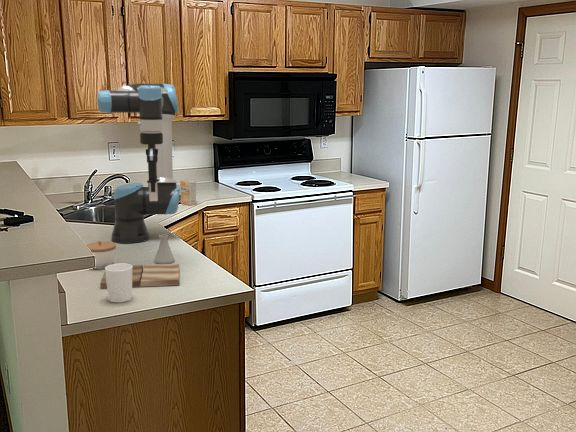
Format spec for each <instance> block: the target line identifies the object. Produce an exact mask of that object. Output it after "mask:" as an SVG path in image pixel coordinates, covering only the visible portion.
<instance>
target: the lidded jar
mask: <svg viewBox="0 0 576 432" xmlns="http://www.w3.org/2000/svg"><path fill="white" fill-rule="evenodd" d="M85 245H86V246H87V247H88V248H89V249H90V250H91V252H92V253H93V254H94V255H95V259H96V268H97V269H98V270H101V269H102V268H103V269H105V267H106V266H108V265H111V264H114V261H115V260H116V256H117V255H116V252H117V251H116V249H117V244H116V242H113V241H112V242H111V241H102V240H98V241H95V242H89V243H86V244H85ZM97 269H96V270H97Z"/></svg>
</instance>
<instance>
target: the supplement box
mask: <svg viewBox="0 0 576 432" xmlns="http://www.w3.org/2000/svg"><path fill="white" fill-rule="evenodd" d="M179 181H180V186H179V187H180V204H181V205H186V206H190V207H191V206H195V205H197V182H196V181H194V180H189V179H183V180H179Z"/></svg>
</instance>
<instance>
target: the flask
mask: <svg viewBox="0 0 576 432" xmlns="http://www.w3.org/2000/svg"><path fill="white" fill-rule="evenodd" d="M158 238H159V245H158V249H157V251H156V254H155V257H154V260H153V262H154V263H156V264H173V263H174V262H175V261H176V259H175V258H174V255H173V253H172V250H171V247H170V245H169V240H168V239H169V235H168V234H166V233H164V234H159V235H158Z"/></svg>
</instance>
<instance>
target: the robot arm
mask: <svg viewBox="0 0 576 432" xmlns="http://www.w3.org/2000/svg"><path fill="white" fill-rule="evenodd" d="M176 90H177V89H176V87H175V85H173V84H171V83H170V84H169V83H141V82H140V83H131V84H127V85H123V86H120V87H118V88H116V89H115V90H108V89H105V90H99V91H98V92H97V101H96V102H97V108H98V111H99V112H100V113H106V114H117V113H119V114H120V113H121V114H123V113H124V114H125V113H126V114H127V113H128V114H130V113H131V114H132V113H133V114H139V116H138V117H139V118H138V119H139V121H138V122H137V125H138V126H139V131H140V133H139V140H140V141H139V143H140V144H142V145H147V148H146V149H145V155H146V163H147V169H148V173H147V174H148V180H146V183H147V186H144V184H143V183H142V182H132V183H125V184H122V185H119V186H116V187H115V188H114V190H113V201H114V225H113V229H112V232H111V241H112V242H113V243H119V244H137V243H138V244H139V243H142V242H145V241H148V240H149V238H150V236H149V235H150V233H149V230H148V228H147V226H146V225H147V224H146V222H145V216H146V215H165V216H166V215H175V214H176V213H177V212H178V209H179V204H180V203H179V202H180V196H181V194H180V186H178V185H177V181H176V180H175V179H174V176H173V129H172V128H173V125H172V124H173V123H172V122H173V120H174V119H175V118H176V114H177V113H179V111H180V110H179V104H178V98H177V97H178V96H177V91H176Z"/></svg>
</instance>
